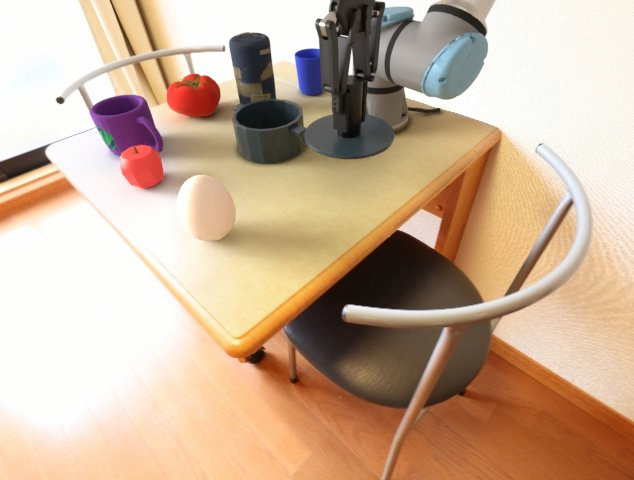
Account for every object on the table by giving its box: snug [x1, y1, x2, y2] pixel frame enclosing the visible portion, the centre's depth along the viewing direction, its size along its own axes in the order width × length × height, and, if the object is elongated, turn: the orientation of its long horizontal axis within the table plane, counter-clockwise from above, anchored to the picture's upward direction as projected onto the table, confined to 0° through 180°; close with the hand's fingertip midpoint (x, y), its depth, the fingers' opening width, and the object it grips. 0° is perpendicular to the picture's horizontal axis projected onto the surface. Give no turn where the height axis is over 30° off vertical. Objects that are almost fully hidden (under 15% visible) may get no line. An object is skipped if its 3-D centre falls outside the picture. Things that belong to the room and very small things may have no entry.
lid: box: [304, 74, 396, 161], centre depth 61 cm, size 16×16×10 cm
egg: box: [176, 174, 237, 242], centre depth 57 cm, size 9×9×11 cm
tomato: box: [166, 73, 222, 119], centre depth 92 cm, size 14×13×9 cm
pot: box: [231, 98, 307, 165], centre depth 79 cm, size 15×20×8 cm
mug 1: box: [89, 94, 164, 157], centre depth 79 cm, size 17×11×10 cm, turn 55°
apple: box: [119, 145, 165, 189], centre depth 71 cm, size 8×8×8 cm
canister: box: [228, 31, 277, 105], centre depth 89 cm, size 10×10×18 cm
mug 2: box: [294, 47, 324, 96], centre depth 100 cm, size 8×12×10 cm
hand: (349, 124), depth 63 cm, fingers closed on lid, 4 cm apart
